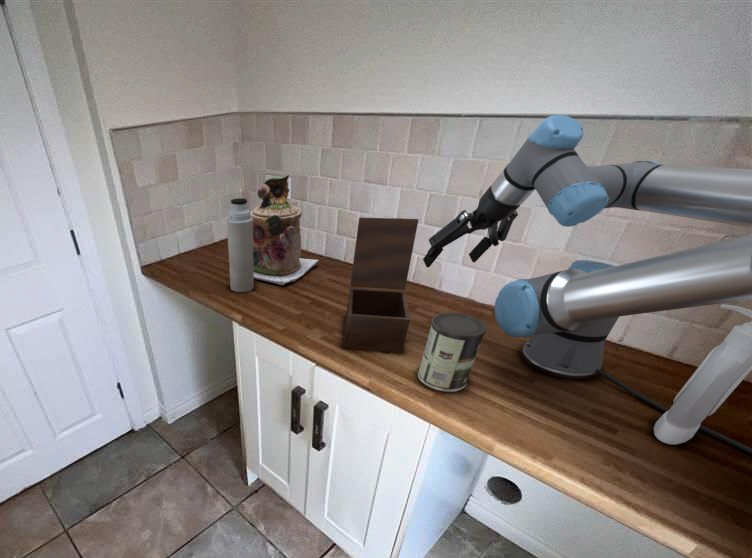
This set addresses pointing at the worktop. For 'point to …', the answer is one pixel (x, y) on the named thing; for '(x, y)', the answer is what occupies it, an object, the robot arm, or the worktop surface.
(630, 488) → the worktop surface
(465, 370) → the coffee can
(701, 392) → the soap bottle
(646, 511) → the worktop surface
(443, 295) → the worktop surface
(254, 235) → the cookie jar
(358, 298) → the chest
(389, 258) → the lid
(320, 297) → the worktop surface
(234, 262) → the thermos bottle
